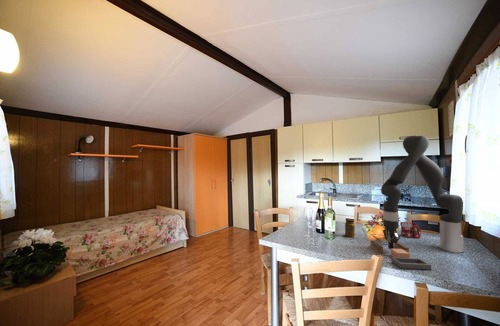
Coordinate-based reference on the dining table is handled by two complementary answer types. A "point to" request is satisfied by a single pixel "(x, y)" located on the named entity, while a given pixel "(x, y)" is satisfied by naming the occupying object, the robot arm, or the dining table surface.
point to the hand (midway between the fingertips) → (390, 248)
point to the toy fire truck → (410, 230)
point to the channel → (379, 248)
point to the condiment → (349, 229)
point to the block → (399, 253)
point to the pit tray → (411, 263)
